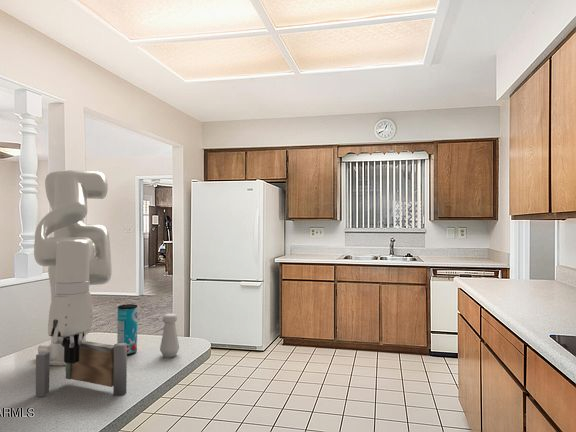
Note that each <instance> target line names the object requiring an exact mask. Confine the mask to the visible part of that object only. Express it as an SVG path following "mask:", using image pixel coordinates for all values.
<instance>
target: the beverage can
mask: <svg viewBox="0 0 576 432" xmlns="http://www.w3.org/2000/svg"><path fill="white" fill-rule="evenodd" d="M116 327H117V331H116V332H117V333H116V334H117V336H116V337H117V343H127V356H131V355H134V354H136V353H137V351H138V305H137V304H133V303H129V304H128V303H127V304H121V305H119V306H117V326H116ZM117 343H116V344H117Z"/></svg>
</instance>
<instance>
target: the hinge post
mask: <svg viewBox="0 0 576 432" xmlns="http://www.w3.org/2000/svg"><path fill="white" fill-rule="evenodd" d="M113 345H114V381H113V386H112V388H113V396H115V397H116V396H117V397H118V396H119V397H120V396H124V395H125V394H127V382H128V381H127V377H128V376H127V371H128V370H127V368H128V367H127V365H128V364H127V362H128V358H127V357H128V355H127V343H115V344H113Z"/></svg>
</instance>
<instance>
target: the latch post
mask: <svg viewBox="0 0 576 432" xmlns="http://www.w3.org/2000/svg"><path fill="white" fill-rule="evenodd" d="M48 394H50V352H41V353H37V354H36V355H35V397H37V398H38V397H41V398H42V397H45V396H47V395H48Z"/></svg>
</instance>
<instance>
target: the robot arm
mask: <svg viewBox="0 0 576 432" xmlns="http://www.w3.org/2000/svg"><path fill="white" fill-rule="evenodd" d="M108 183H109V182H108V179H107V176H106V175H105V174H104V172H100V171H92V170H91V171H89V170H59V171H58V170H57V171H52V172H49V173H48V174H47V175H46V177H45V180H44V187H45V188H44V189H45V194H46V198H47V201H48V203H49V206H50V207H51V209H52V210H51V211H49V212H48V213H47V214H46V215H45V216H44V217H42V218H41V220H40V221H39V222H38V224H37V225H36V228H35V229H36V230H35V232H34V245H33V247H34V248H33V256H34V260H35V262H36V263H37V264H38V265H39V266H42V267H47V269H48V270H47V271H48V279H49V287H50V301H51V302H50V306H49V311H48V324H47V334H48V336H49V337H50V343H49V345H46V344H44V345H43V344H40V345H38V348H37V354H39V353H41V352H50V365H51V366H66V363H72V364H74V363H76V362H79V345H81V343H82V341H87V335H88V334H90V332H91V330H90V329H91V328H92V327H93V305H92V298H91V297H92V296H91V292H90V286H98V285H105V284H107V283H109V281H110V280H111V277H112V272H113V271H112V256H111V255H112V254H111V239H110V233H109V231H108V228H107V227H106V226H104V225H102V224H85V223H84V219H85V218H86V216H87V215H88V200H89V199H93V200H94V199H95V200H96V199H97V200H102V199H103V200H104V199H105V198H106V196H108V189H109V184H108ZM52 233H53V237H52V236H51V237H49V235H50V234H52Z"/></svg>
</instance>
